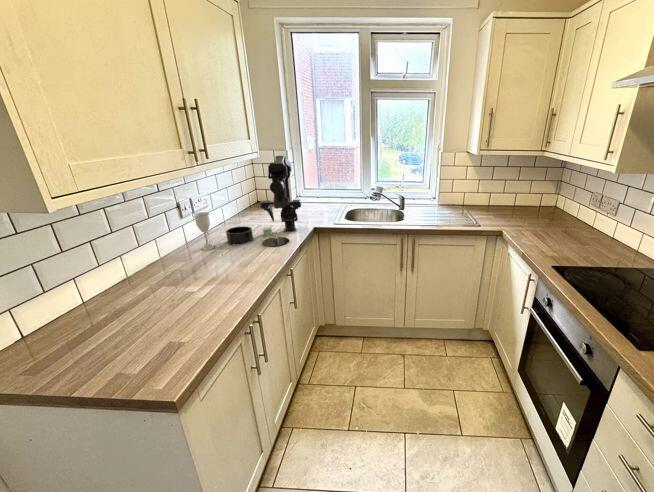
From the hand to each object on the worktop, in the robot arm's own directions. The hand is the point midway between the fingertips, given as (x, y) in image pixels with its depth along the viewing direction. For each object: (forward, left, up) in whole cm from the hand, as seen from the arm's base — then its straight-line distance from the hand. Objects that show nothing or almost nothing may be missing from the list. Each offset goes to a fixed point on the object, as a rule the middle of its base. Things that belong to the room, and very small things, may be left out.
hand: (283, 220), depth 157 cm
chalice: (-6, -39, -15) cm, 42 cm away
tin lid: (-8, -6, -14) cm, 17 cm away
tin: (-14, -25, -15) cm, 32 cm away
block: (-22, -12, -15) cm, 29 cm away
